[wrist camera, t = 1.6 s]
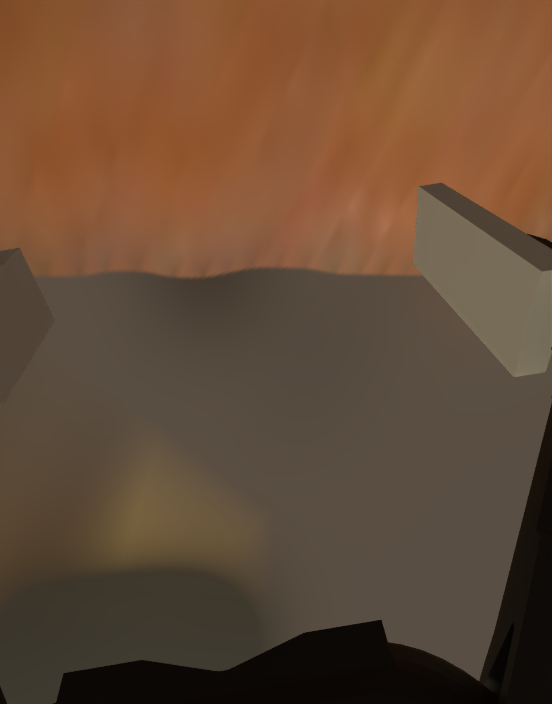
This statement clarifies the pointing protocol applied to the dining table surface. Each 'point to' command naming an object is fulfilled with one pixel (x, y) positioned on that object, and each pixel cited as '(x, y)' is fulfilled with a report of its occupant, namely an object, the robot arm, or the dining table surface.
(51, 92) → the dining table surface
